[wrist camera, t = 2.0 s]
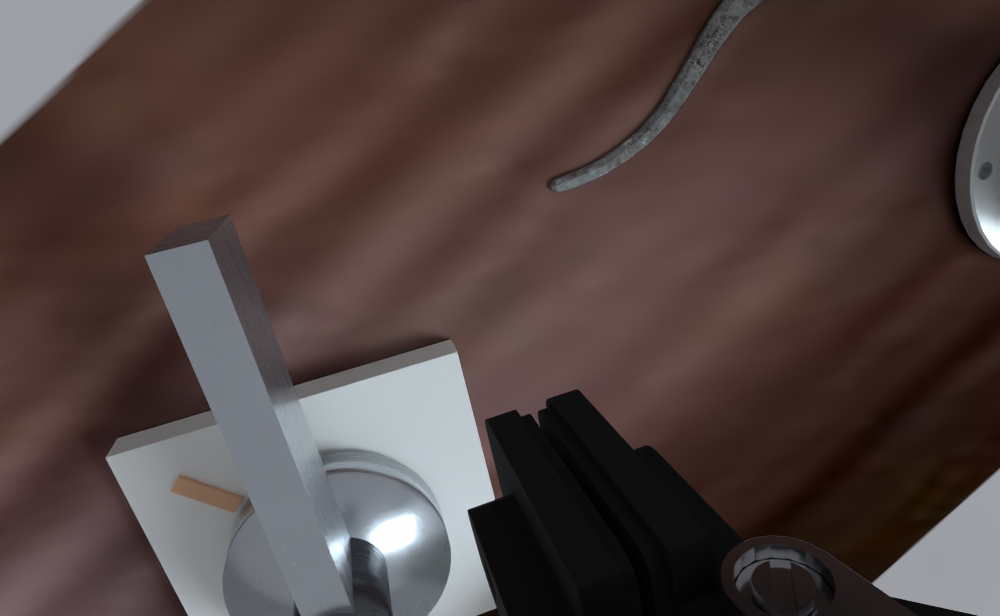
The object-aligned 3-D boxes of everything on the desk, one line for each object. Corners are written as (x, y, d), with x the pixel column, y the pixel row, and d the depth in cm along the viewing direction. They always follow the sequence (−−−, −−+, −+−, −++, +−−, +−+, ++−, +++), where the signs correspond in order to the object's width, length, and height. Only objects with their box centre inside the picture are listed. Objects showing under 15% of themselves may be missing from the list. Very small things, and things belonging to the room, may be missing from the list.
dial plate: (450, 339, 27) (457, 353, 26) (512, 577, 32) (521, 602, 31) (117, 438, 25) (103, 460, 23) (239, 679, 30) (235, 710, 28)
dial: (462, 583, 29) (496, 703, 24) (271, 653, 28) (256, 801, 22) (342, 178, 22) (347, 207, 17) (77, 243, 21) (-20, 299, 15)
